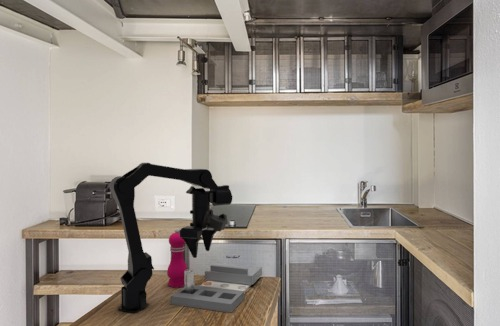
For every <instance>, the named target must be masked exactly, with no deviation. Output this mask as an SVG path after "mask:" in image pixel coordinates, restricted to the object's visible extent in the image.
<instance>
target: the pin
mask: <svg viewBox="0 0 500 326" xmlns="http://www.w3.org/2000/svg"><path fill="white" fill-rule="evenodd" d="M184 274H185V286H184V287H185V293H186V294H194V285H195V270H194V269H191V268H190V269H187V270H185V271H184Z"/></svg>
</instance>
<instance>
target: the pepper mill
mask: <svg viewBox="0 0 500 326" xmlns="http://www.w3.org/2000/svg"><path fill="white" fill-rule="evenodd" d="M180 230H181V228H179V227H177V228H175V229H174V232H173V233H171V234H170V235H169V237H168V243H169V245H170V247H169V248H170V249H169V250H170V252H171V257H170V262H169V264H168V267H167V271H166V272H167V273H166V275H167V277H168V278H169V279H168V286H169V287H171V288H183V287H185V274H184V271H185V270H187V269H188V266H187V263H186V261H185V259H184V252H185V244H186V243H185V241H184V239H182V237H179V231H180Z"/></svg>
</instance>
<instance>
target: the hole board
mask: <svg viewBox="0 0 500 326" xmlns="http://www.w3.org/2000/svg"><path fill="white" fill-rule="evenodd" d="M244 300H245V292H244V291H239V290H231V289H223V288H215V287H207V286H201V285H197V284H194V294H186V293H185V286H183V287H181V288H180V289H179V290H177V291H175V292H174V293H173V294H171V295H170V305H174V306H180V307H182V306H183V307H189V308H195V309H203V310H208V311H215V312H222V313H230V314H231V313H232V312H233V311H234V310H235V309H236V308H237V307H238V306H239V305H241V303H242V302H243V301H244Z"/></svg>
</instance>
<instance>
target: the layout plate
mask: <svg viewBox="0 0 500 326" xmlns="http://www.w3.org/2000/svg"><path fill="white" fill-rule="evenodd" d="M200 286H207V287H215V288H223V289H231V290H239V291H244V293H245V292H246V291H247V290H248V289H249V288H250V287H251V286H252V285H248V284H239V283H230V282H222V281H213V280H206V281H205V282H202V283H201V285H200Z"/></svg>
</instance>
